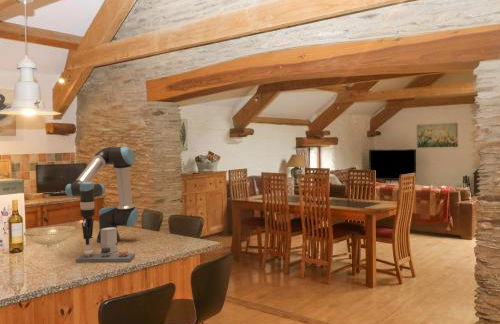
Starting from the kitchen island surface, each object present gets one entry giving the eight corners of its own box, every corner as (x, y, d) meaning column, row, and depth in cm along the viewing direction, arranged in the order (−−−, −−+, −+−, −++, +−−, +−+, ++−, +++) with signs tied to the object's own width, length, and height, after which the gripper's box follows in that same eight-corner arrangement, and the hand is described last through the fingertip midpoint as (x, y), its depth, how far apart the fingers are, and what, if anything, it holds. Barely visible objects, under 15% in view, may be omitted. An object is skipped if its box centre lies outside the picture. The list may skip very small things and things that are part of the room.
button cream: (86, 257, 265) (85, 249, 265) (94, 257, 265) (94, 249, 265) (83, 260, 260) (82, 251, 260) (91, 259, 260) (91, 251, 260)
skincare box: (107, 254, 276) (106, 229, 275) (100, 253, 278) (99, 228, 278) (117, 251, 283) (117, 227, 282) (110, 250, 286) (110, 226, 285)
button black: (103, 256, 265) (103, 247, 265) (111, 255, 265) (111, 247, 265) (100, 258, 260) (100, 249, 260) (108, 258, 260) (108, 249, 260)
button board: (84, 257, 269) (83, 253, 269) (134, 256, 268) (134, 253, 268) (76, 262, 257) (75, 259, 257) (129, 262, 256) (129, 258, 256)
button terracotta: (120, 257, 265) (120, 249, 265) (128, 257, 265) (128, 249, 265) (118, 259, 260) (117, 251, 260) (126, 259, 260) (126, 251, 260)
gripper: (85, 207, 268) (86, 247, 269) (76, 210, 255) (77, 252, 256) (97, 207, 268) (98, 247, 269) (89, 210, 255) (90, 252, 256)
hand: (88, 249), depth 262 cm, fingers closed
